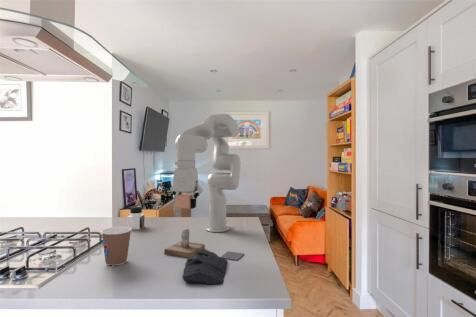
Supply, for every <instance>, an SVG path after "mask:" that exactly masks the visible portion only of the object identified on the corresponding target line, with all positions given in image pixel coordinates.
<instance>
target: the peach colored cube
mask: <svg viewBox="0 0 476 317" xmlns="http://www.w3.org/2000/svg"><path fill="white" fill-rule="evenodd" d="M191 199H192V197H191V194H190V193H182V194H180V195H176V198H175V208H176V209H191Z"/></svg>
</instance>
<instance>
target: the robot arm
mask: <svg viewBox="0 0 476 317" xmlns="http://www.w3.org/2000/svg"><path fill="white" fill-rule="evenodd" d="M239 132H240V129H239V124H238V122H237V121H236V120H235V119H234V118H233V117H232V116H231V115H230V114H229V113H216V114H215V113H212V114H210V115H207V116H206V117H205V118H204V119H203V121H202V122H200V124H198V125H195V126H193V127H191V128H188V129H186V130H184V131H182V132H181V133H180V134H179V135H178V136H177V137H176V138H175V139H176V140H175V142H174V146H175V150H176V161H174V165H175V166H176V167H175V168H174V172H173V180H172V185H171V186H170V188H169V190H170V191H171V193H172V195H173V196H174V197H175V199H176V195H180V194H183V193H189V194H191V197H192V199H191V208H190V209H191V210H192V209H195V208H196V207H197V199H198V197H199V196H200V195H201V194H202V192H203V191H204V189H203V188H202V187H201V185H199V174H198V169H197V167H196V154H202V153H204V152H206V150H207V149H208V144H209V143H208V140H210V139H211V140H212V142H213V155H212V163H211V164H212V169H213V170H215V171H216V172H212V173H210V174H208V176H207V188H208V226H206V227H205V230H206V231H207V232H210V233H225V232H228V231H229V230H230V227H229V226H228V225H227V223H228V222H229V221H228V220H227V196H226V193H225V192H224V191H236V190H238V188H239V185H240V177H241V176H240V175H241V164H242V163H241V157H240V155H238V154H237V153H229V152H230V151H229V150H230V146H229V144H228V142H227V141H226V139H225V138H235V137H238V134H239ZM218 171H219V172H218ZM220 171H221V172H220ZM223 171H225V172H223ZM226 171H228V172H226Z"/></svg>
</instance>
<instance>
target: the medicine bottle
mask: <svg viewBox="0 0 476 317" xmlns="http://www.w3.org/2000/svg"><path fill="white" fill-rule="evenodd" d="M129 210H130V212H129V214H130V215H128V216H127V219H126V223H127V224H126V227H130V228H131V229H132V231H133V230H138V231H139V230H142V229H143V228H145V213H144V214H143V213H142V212H143V207H142V206H139V205H138V206H135V205H134V206H132V207H130V208H129Z"/></svg>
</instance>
